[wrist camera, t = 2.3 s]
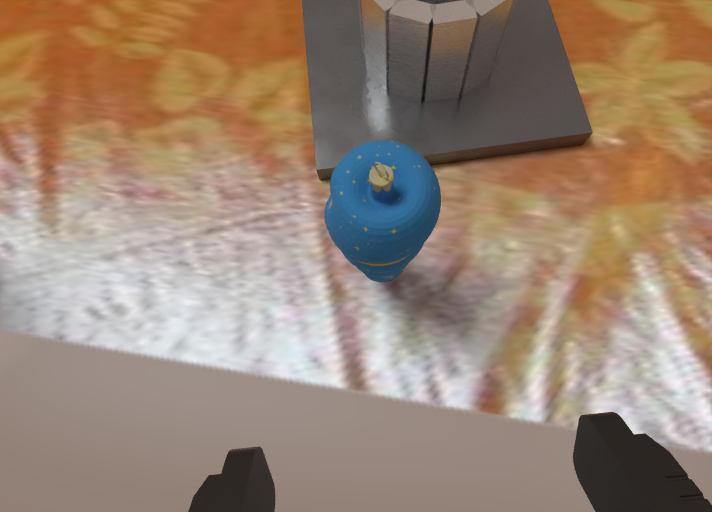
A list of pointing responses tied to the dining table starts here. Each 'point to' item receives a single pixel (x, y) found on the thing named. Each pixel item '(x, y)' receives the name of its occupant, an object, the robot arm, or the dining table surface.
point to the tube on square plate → (439, 78)
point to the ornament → (382, 207)
